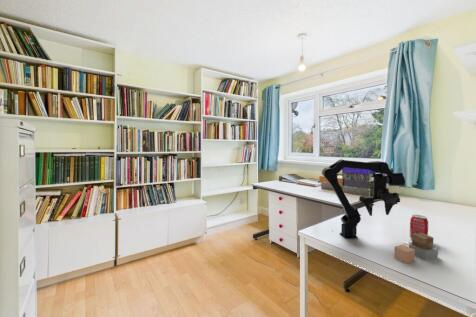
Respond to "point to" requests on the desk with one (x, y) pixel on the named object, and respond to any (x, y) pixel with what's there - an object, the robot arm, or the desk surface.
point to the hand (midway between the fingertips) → (378, 215)
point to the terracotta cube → (404, 253)
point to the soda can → (418, 225)
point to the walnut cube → (422, 241)
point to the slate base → (425, 252)
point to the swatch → (408, 243)
